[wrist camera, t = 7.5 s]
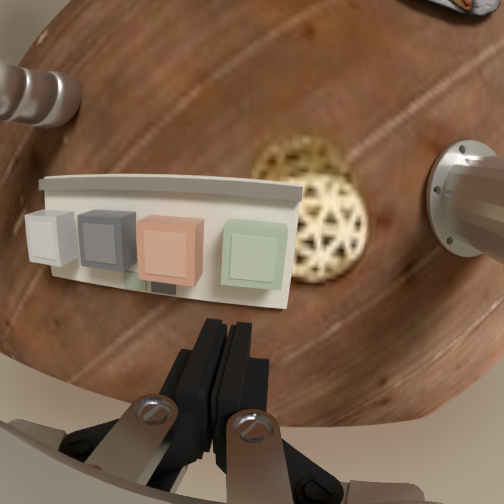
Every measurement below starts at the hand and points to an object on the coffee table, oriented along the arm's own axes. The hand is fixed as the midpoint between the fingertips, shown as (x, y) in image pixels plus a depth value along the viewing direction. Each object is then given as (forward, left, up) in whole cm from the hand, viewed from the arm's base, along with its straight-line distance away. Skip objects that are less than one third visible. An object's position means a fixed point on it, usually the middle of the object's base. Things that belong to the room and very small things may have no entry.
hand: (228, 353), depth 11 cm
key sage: (0, +1, -16) cm, 16 cm away
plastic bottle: (+22, -14, -18) cm, 32 cm away
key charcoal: (+14, +1, -16) cm, 21 cm away
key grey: (+21, +1, -15) cm, 26 cm away
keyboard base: (+10, +1, -18) cm, 21 cm away
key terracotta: (+7, +1, -15) cm, 17 cm away
